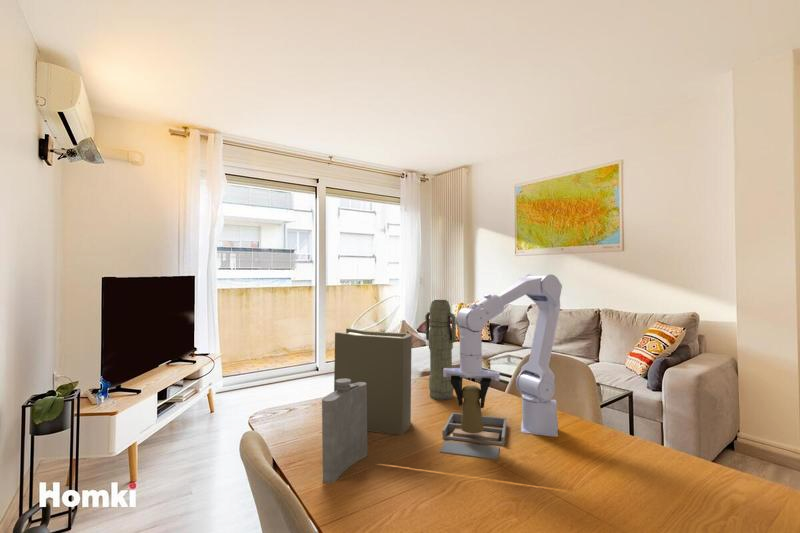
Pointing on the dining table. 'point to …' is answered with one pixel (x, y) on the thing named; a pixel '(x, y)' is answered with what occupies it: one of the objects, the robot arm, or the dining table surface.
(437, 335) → the thermos
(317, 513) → the dining table surface
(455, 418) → the rack
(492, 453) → the slate mat
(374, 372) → the book
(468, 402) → the cork
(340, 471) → the hip flask
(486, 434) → the top offcut
